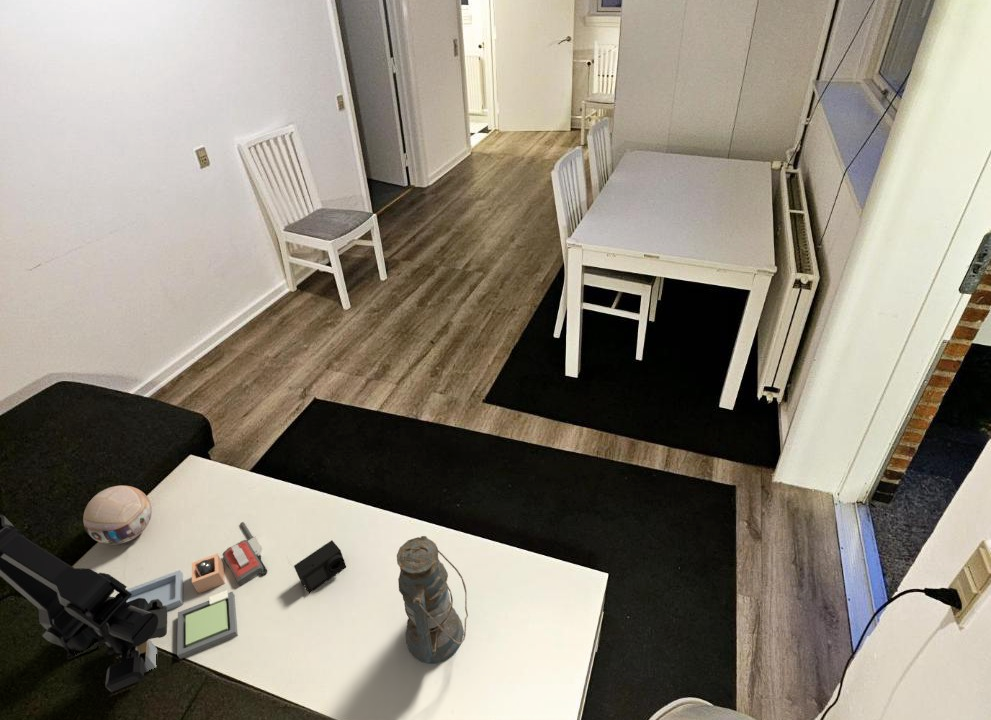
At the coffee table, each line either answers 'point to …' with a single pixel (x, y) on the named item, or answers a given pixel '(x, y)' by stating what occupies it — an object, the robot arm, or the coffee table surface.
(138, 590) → the tray
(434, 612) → the lantern
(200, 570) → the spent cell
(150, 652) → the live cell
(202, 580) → the cup
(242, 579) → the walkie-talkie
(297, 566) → the digital camera
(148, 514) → the ornament
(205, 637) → the light green square plate
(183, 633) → the checker frame
